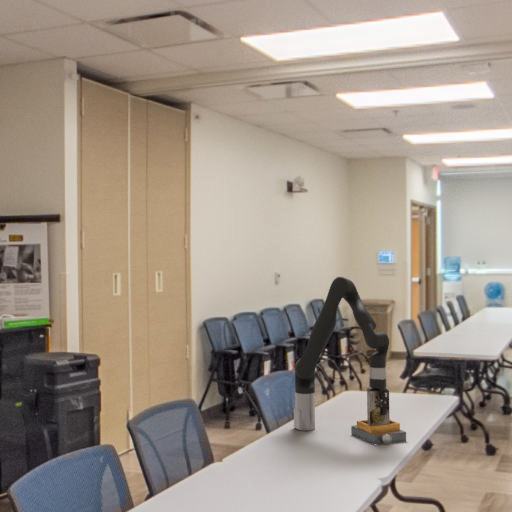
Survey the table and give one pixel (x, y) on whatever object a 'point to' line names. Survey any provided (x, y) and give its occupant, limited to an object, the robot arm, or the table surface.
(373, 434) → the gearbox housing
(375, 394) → the coffee box
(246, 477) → the table surface
